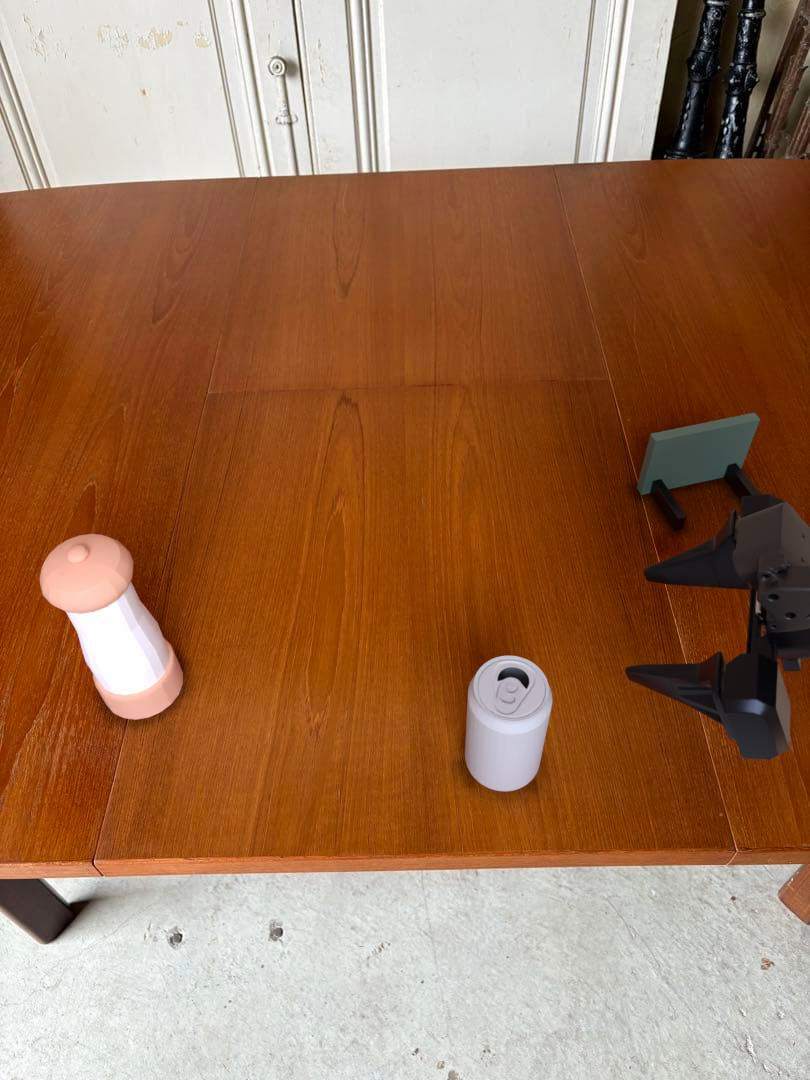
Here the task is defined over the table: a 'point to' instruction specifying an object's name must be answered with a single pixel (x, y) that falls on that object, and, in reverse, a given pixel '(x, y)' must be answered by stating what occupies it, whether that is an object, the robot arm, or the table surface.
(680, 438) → the rack bay
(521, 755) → the beverage can
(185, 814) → the table surface
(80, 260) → the table surface
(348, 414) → the table surface
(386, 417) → the table surface
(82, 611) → the pepper shaker
